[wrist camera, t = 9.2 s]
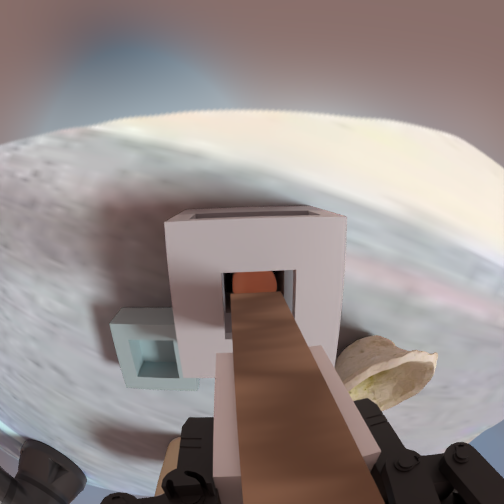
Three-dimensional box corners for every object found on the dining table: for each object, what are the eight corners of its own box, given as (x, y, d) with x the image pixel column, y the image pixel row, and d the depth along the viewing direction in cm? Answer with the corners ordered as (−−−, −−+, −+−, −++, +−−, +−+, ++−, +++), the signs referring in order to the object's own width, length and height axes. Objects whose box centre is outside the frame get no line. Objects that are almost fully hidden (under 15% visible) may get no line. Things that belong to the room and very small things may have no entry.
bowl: (300, 413, 34) (318, 469, 25) (296, 325, 31) (321, 380, 21) (399, 386, 35) (432, 430, 25) (412, 300, 32) (462, 336, 22)
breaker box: (195, 324, 30) (183, 377, 21) (185, 209, 27) (164, 222, 18) (307, 318, 31) (334, 367, 22) (310, 205, 28) (346, 216, 19)
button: (232, 287, 29) (233, 308, 24) (231, 252, 28) (231, 266, 23) (269, 286, 29) (276, 306, 24) (269, 250, 28) (277, 264, 23)
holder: (135, 367, 31) (126, 387, 27) (122, 307, 29) (109, 323, 25) (200, 369, 31) (198, 390, 28) (193, 307, 30) (188, 324, 26)
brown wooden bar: (232, 337, 19) (259, 633, 2) (230, 293, 18) (259, 638, 1) (279, 334, 19) (378, 607, 2) (280, 291, 19) (426, 592, 1)
